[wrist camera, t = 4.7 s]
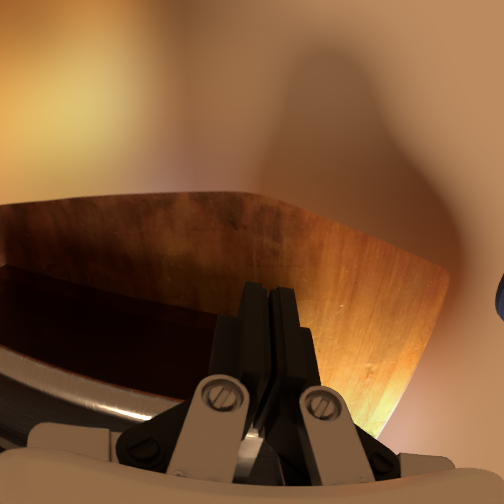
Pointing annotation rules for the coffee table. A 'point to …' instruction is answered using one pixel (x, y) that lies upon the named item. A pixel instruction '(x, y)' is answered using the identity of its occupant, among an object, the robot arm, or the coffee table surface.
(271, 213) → the coffee table surface
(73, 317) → the oven door
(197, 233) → the coffee table surface
